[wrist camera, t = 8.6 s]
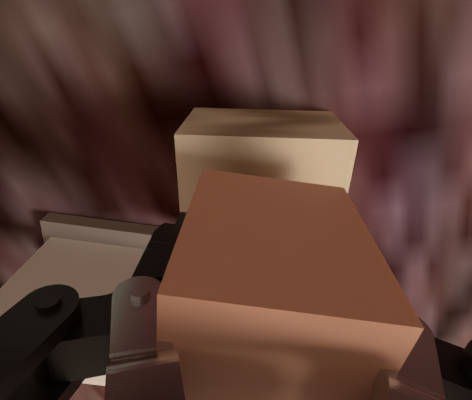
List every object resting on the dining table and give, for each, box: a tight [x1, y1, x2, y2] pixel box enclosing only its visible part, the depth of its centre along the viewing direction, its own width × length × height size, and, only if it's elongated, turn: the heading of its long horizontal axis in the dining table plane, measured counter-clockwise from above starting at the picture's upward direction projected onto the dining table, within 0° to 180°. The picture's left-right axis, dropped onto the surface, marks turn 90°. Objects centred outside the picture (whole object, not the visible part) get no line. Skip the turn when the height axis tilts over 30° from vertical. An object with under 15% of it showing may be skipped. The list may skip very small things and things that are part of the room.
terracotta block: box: [157, 169, 424, 400], centre depth 10 cm, size 5×5×6 cm
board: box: [0, 212, 159, 386], centre depth 17 cm, size 9×3×9 cm, turn 83°
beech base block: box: [174, 108, 359, 212], centre depth 16 cm, size 7×7×5 cm
